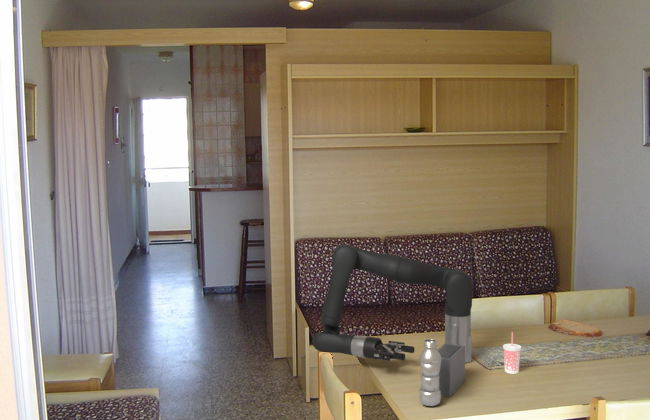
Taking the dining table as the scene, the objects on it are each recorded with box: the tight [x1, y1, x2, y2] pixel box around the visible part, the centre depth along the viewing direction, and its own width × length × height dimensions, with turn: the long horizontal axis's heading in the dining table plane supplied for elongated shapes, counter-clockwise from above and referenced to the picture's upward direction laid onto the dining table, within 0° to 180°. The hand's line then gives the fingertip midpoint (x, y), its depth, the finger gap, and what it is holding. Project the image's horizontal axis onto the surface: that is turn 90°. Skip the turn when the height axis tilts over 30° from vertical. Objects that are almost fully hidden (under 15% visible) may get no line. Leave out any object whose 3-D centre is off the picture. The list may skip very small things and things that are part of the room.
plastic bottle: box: [418, 338, 442, 407], centre depth 202 cm, size 6×7×20 cm
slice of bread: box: [548, 319, 603, 338], centre depth 278 cm, size 18×18×4 cm
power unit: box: [437, 342, 466, 398], centre depth 217 cm, size 7×16×12 cm, turn 152°
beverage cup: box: [502, 331, 522, 375], centre depth 230 cm, size 6×6×14 cm
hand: (409, 353), depth 227 cm, fingers open, 8 cm apart
